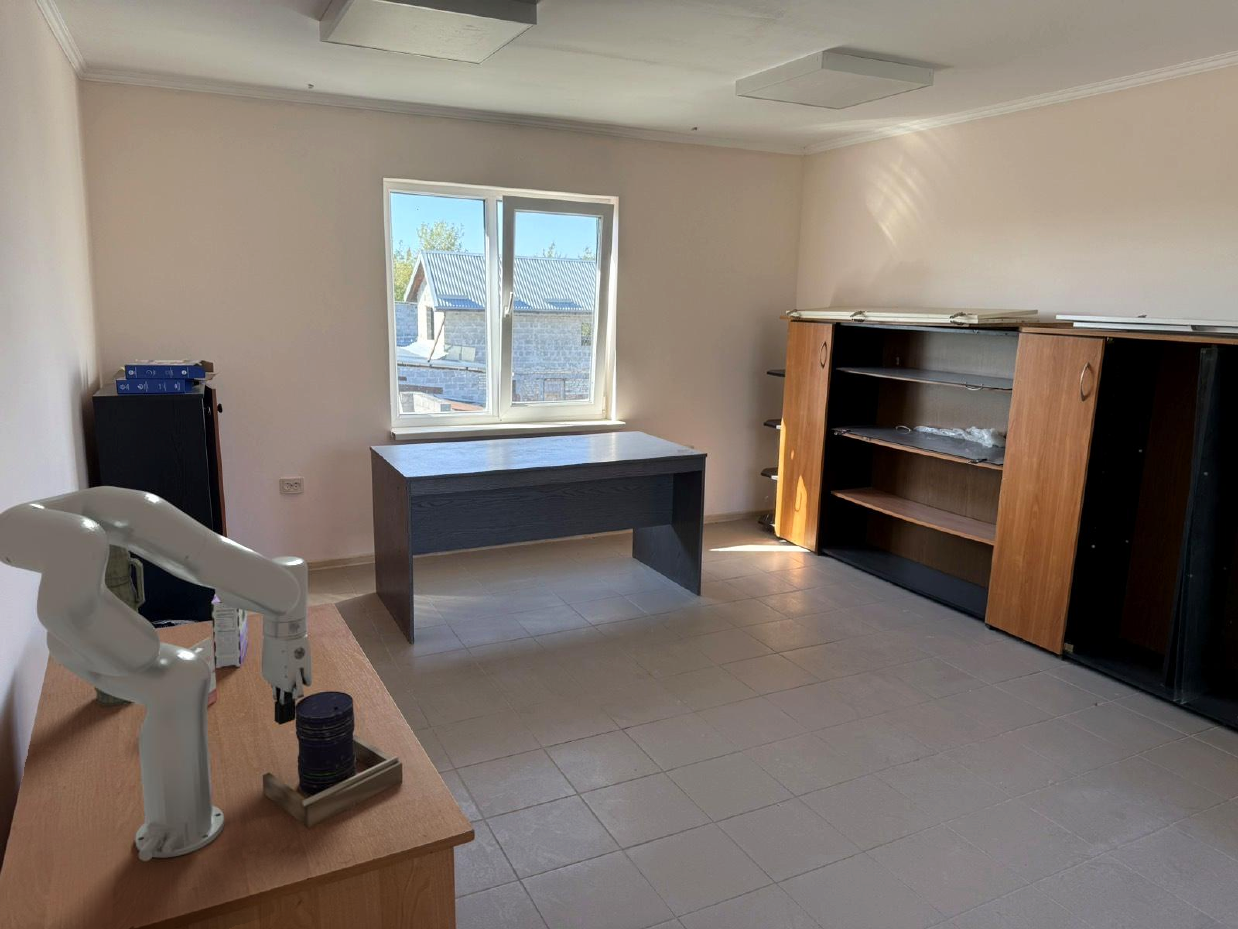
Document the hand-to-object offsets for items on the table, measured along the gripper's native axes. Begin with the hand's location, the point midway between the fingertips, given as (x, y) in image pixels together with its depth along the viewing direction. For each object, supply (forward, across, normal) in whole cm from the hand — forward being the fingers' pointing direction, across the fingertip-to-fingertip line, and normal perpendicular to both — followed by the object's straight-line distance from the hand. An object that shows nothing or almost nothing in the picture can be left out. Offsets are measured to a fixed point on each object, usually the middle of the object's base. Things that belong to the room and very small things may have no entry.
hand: (285, 720), depth 151 cm
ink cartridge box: (+8, +33, +2) cm, 34 cm away
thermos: (+8, +49, +9) cm, 51 cm away
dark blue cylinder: (+9, -11, -2) cm, 14 cm away
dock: (+8, -13, -2) cm, 16 cm away
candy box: (+7, +52, -16) cm, 55 cm away
